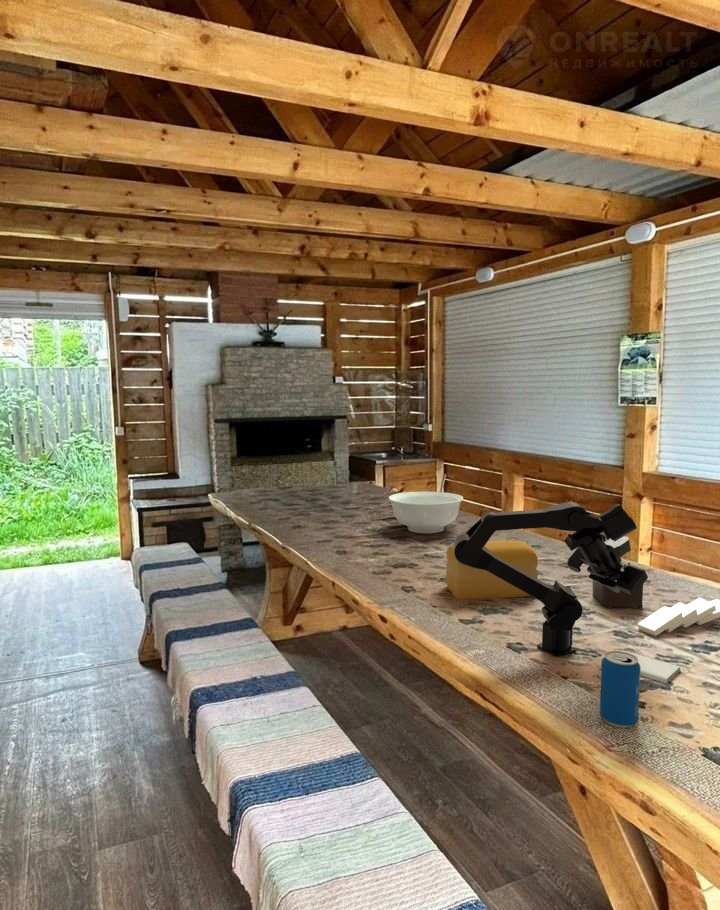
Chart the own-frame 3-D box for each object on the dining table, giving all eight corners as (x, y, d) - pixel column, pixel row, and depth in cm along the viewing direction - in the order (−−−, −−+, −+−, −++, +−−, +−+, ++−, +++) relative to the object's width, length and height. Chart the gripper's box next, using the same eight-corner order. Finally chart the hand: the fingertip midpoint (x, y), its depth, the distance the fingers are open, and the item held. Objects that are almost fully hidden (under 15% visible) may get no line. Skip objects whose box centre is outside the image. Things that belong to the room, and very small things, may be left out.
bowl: (372, 529, 269) (372, 496, 268) (422, 519, 291) (422, 488, 290) (429, 542, 246) (429, 506, 244) (478, 530, 268) (478, 496, 266)
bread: (457, 600, 178) (457, 549, 177) (445, 586, 191) (446, 538, 189) (538, 596, 181) (539, 546, 180) (521, 582, 194) (522, 536, 193)
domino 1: (654, 630, 151) (681, 612, 154) (637, 623, 155) (664, 605, 159) (655, 636, 151) (682, 617, 155) (638, 629, 156) (665, 611, 159)
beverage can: (630, 734, 108) (633, 668, 107) (594, 721, 112) (596, 657, 111) (642, 719, 113) (645, 656, 112) (607, 707, 117) (609, 646, 116)
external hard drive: (666, 686, 127) (606, 667, 136) (680, 673, 133) (622, 655, 141) (667, 678, 127) (607, 660, 135) (680, 666, 132) (622, 649, 141)
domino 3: (683, 623, 156) (714, 605, 157) (668, 614, 161) (699, 597, 162) (684, 628, 156) (716, 610, 158) (670, 619, 161) (701, 602, 163)
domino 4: (698, 619, 157) (731, 606, 159) (684, 611, 162) (716, 598, 164) (699, 625, 158) (732, 612, 159) (685, 616, 162) (717, 604, 164)
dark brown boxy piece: (645, 608, 171) (648, 544, 169) (606, 608, 170) (609, 545, 169) (620, 590, 186) (622, 531, 184) (583, 590, 186) (586, 532, 184)
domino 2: (668, 626, 153) (696, 608, 156) (651, 619, 158) (679, 602, 161) (669, 632, 154) (697, 614, 157) (653, 625, 158) (680, 607, 161)
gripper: (649, 535, 136) (672, 579, 143) (582, 514, 152) (605, 554, 159) (620, 572, 133) (644, 615, 140) (555, 546, 149) (579, 586, 156)
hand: (618, 591), depth 149 cm, fingers closed
